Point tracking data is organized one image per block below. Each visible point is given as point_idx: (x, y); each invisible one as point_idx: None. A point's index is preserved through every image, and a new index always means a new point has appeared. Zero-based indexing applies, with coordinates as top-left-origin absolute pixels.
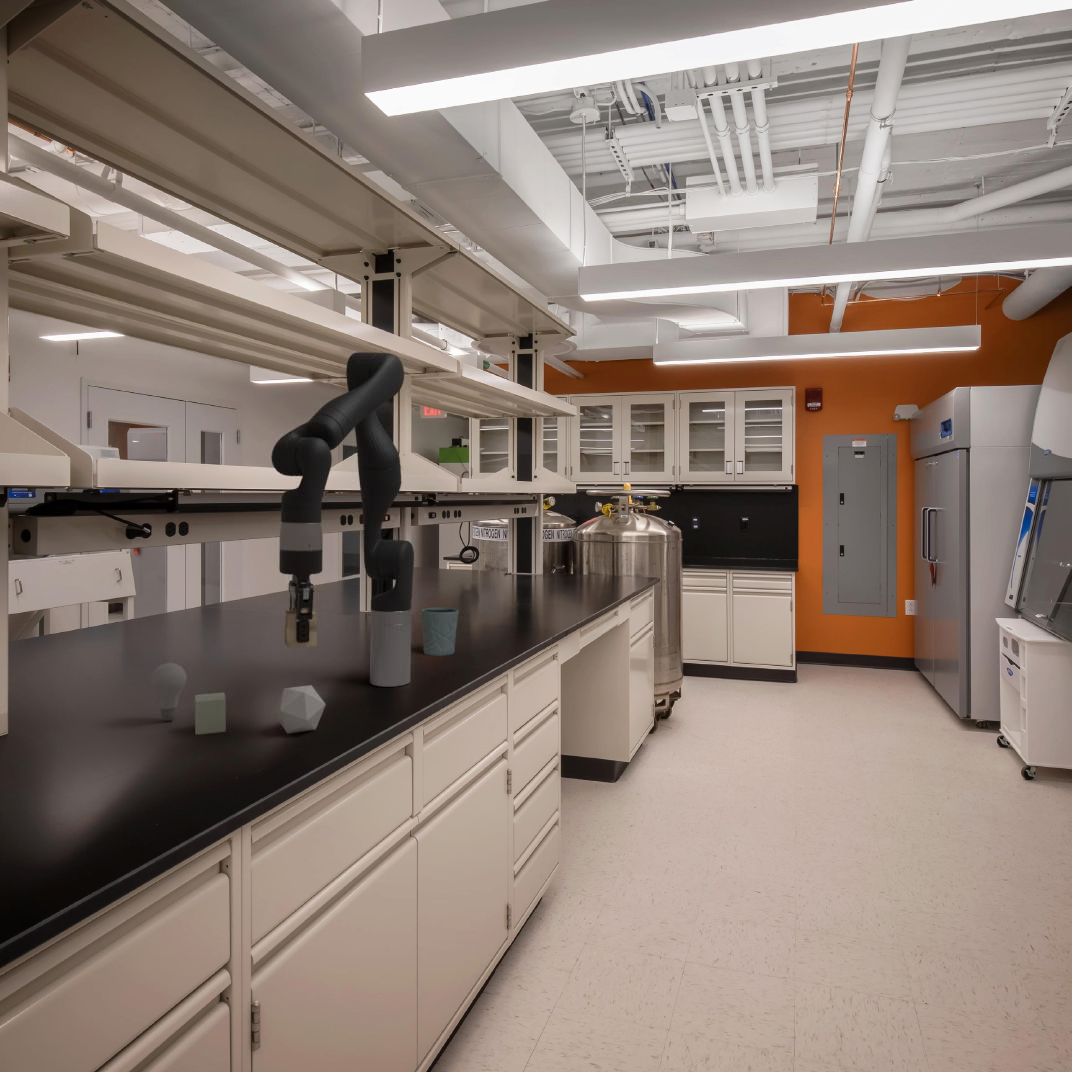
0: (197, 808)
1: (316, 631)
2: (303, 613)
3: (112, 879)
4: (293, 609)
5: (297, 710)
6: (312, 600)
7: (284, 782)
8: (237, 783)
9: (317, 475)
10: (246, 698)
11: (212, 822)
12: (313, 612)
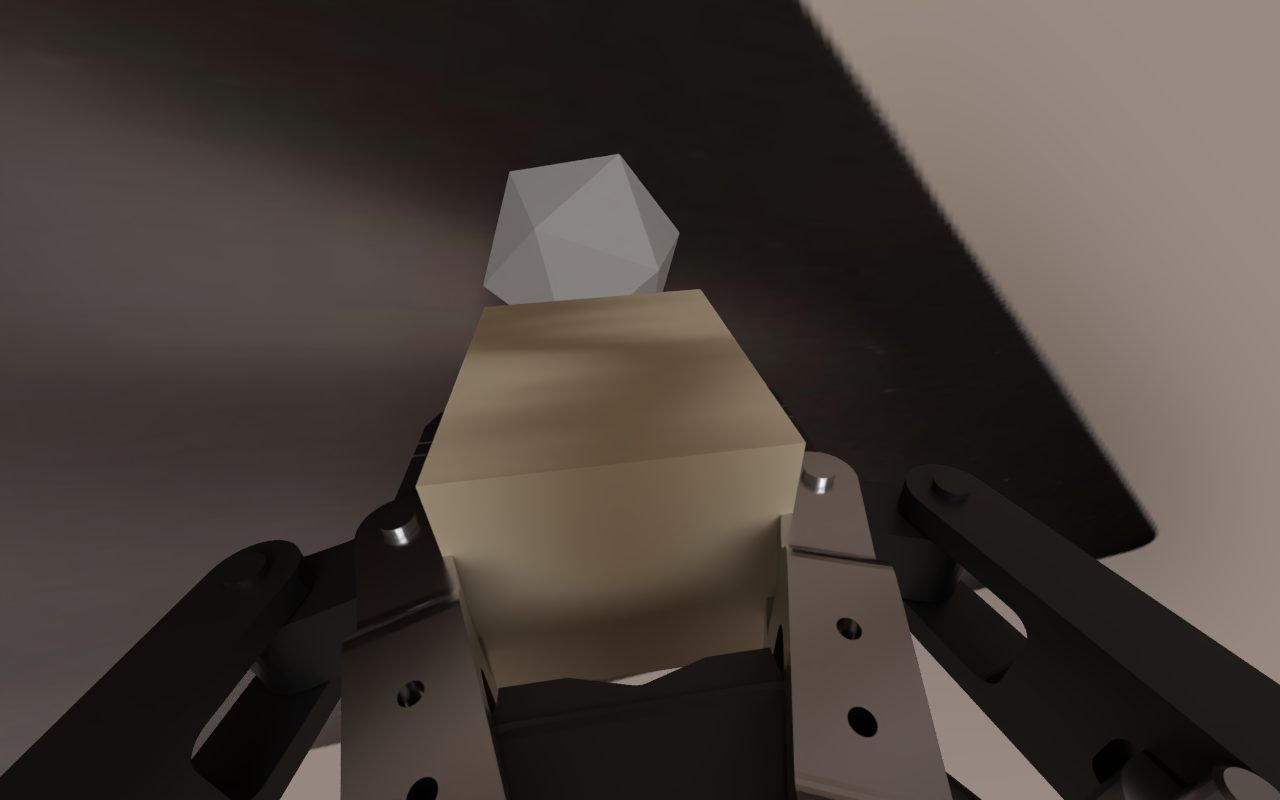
0: (990, 438)
1: (732, 338)
2: (957, 579)
3: (1125, 496)
4: (487, 653)
5: (664, 276)
6: (1261, 677)
7: (982, 298)
8: (922, 387)
9: None
10: (154, 401)
11: (1063, 413)
12: (719, 476)
